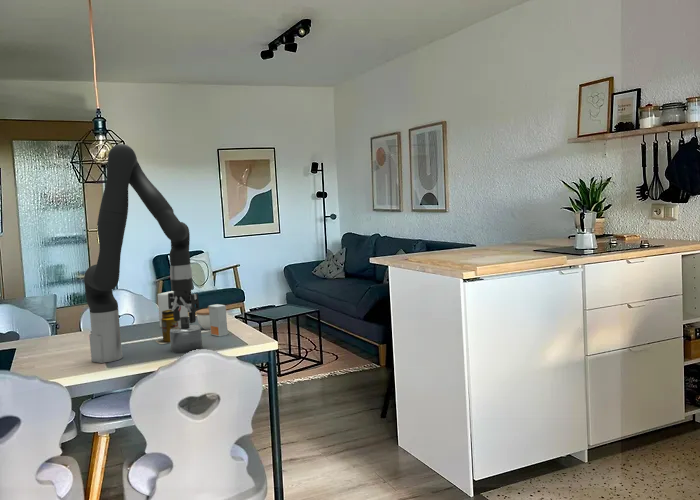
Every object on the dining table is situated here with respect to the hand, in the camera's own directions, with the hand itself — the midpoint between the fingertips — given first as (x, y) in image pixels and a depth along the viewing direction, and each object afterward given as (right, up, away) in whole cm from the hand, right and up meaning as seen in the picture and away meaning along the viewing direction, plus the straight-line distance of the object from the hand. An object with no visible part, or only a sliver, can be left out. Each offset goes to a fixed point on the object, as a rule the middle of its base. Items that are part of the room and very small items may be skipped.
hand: (184, 321), depth 221 cm
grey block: (+1, -10, +1) cm, 10 cm away
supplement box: (-17, -8, +47) cm, 50 cm away
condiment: (-11, -10, +16) cm, 22 cm away
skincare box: (+8, -8, +23) cm, 25 cm away
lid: (0, -3, 0) cm, 3 cm away
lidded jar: (+1, -7, +37) cm, 38 cm away
